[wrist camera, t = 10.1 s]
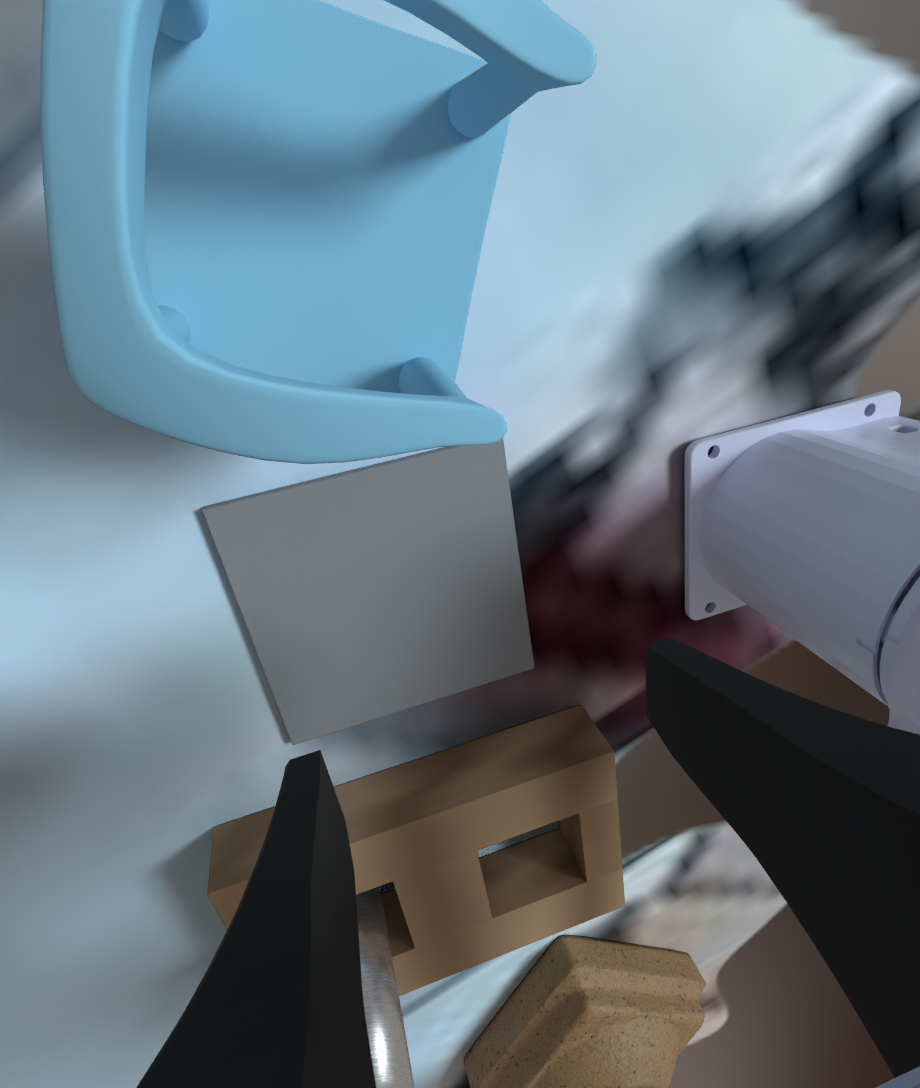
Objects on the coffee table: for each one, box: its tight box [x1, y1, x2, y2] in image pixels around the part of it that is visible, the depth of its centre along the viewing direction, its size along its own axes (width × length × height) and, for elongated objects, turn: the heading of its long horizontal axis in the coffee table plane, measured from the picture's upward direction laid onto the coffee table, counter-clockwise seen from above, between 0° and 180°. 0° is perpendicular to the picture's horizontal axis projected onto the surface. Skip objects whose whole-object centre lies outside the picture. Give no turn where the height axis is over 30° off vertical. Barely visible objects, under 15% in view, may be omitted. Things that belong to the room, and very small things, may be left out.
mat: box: [202, 438, 534, 745], centre depth 23 cm, size 10×10×1 cm
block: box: [207, 705, 625, 996], centre depth 27 cm, size 16×10×3 cm, turn 100°
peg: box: [356, 886, 414, 1088], centre depth 24 cm, size 3×3×9 cm
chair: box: [40, 0, 596, 464], centre depth 12 cm, size 8×8×12 cm
